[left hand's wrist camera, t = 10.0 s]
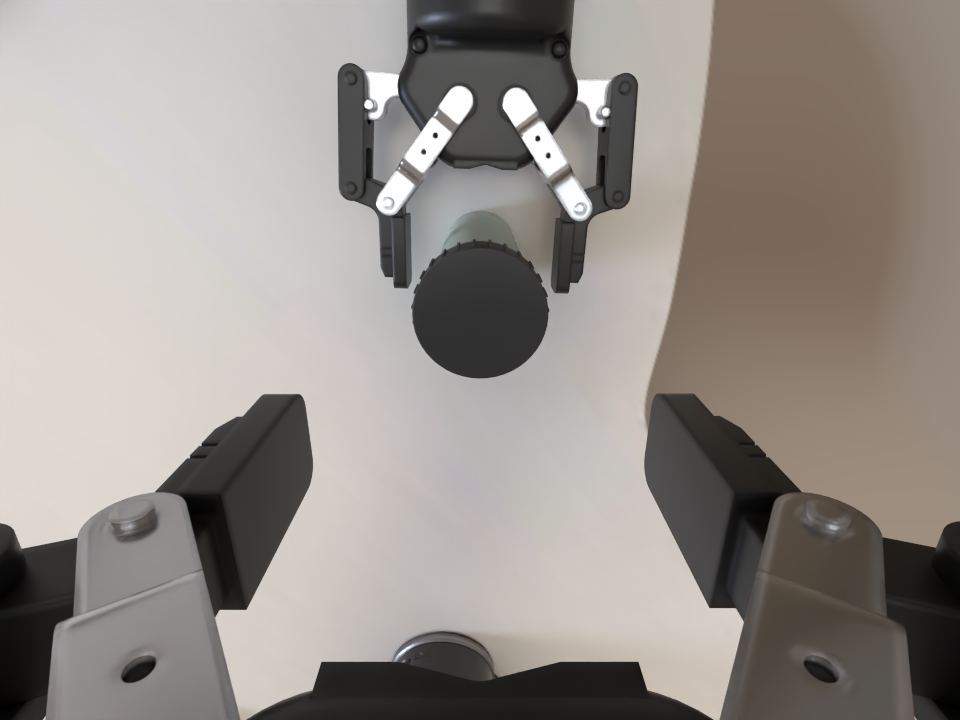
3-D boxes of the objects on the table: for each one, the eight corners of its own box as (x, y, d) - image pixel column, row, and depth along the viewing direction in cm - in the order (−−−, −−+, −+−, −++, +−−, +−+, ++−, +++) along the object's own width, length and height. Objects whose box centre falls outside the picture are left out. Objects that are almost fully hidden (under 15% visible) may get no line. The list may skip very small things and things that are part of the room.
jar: (494, 198, 33) (504, 232, 19) (525, 259, 34) (558, 335, 20) (433, 232, 34) (399, 290, 19) (466, 291, 35) (458, 384, 21)
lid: (508, 213, 20) (510, 218, 18) (566, 329, 21) (573, 343, 20) (390, 278, 20) (383, 288, 19) (455, 384, 22) (453, 401, 21)
